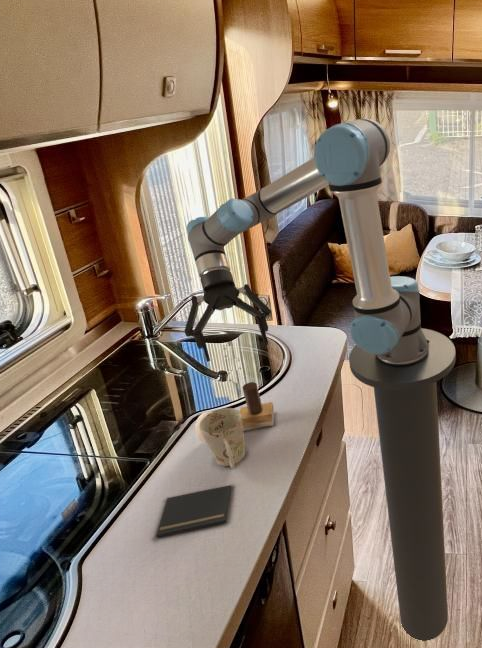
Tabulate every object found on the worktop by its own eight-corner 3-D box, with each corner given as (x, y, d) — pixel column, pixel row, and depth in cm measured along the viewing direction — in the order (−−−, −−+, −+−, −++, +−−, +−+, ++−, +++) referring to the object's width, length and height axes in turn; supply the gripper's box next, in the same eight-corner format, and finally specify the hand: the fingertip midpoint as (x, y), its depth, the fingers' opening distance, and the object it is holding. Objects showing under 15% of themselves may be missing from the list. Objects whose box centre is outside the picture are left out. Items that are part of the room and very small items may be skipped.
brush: (274, 413, 122) (266, 377, 118) (274, 425, 118) (265, 389, 114) (243, 419, 121) (234, 383, 116) (241, 431, 117) (231, 395, 112)
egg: (233, 440, 114) (225, 413, 110) (205, 454, 110) (196, 426, 107) (222, 428, 118) (214, 400, 115) (195, 441, 114) (186, 413, 111)
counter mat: (231, 487, 101) (230, 484, 101) (225, 522, 93) (225, 520, 93) (168, 500, 99) (167, 497, 98) (156, 537, 91) (155, 535, 91)
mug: (245, 438, 114) (236, 403, 110) (260, 471, 105) (250, 434, 100) (207, 453, 110) (196, 417, 106) (219, 489, 101) (207, 451, 96)
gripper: (265, 270, 135) (288, 342, 129) (163, 292, 124) (184, 371, 119) (265, 258, 128) (289, 332, 123) (158, 279, 118) (180, 362, 112)
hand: (238, 351), depth 121 cm, fingers open, 13 cm apart
